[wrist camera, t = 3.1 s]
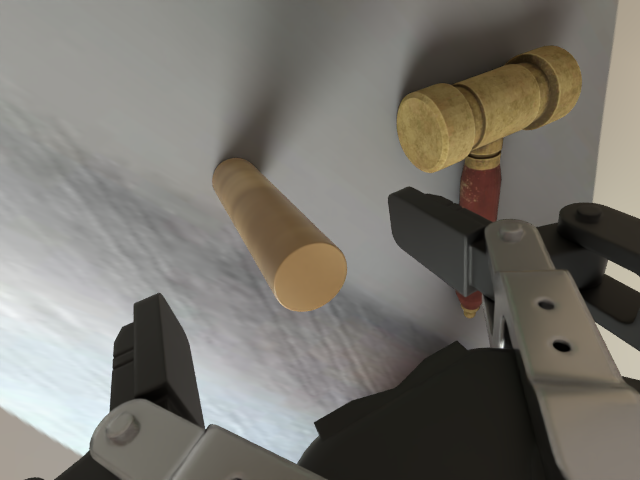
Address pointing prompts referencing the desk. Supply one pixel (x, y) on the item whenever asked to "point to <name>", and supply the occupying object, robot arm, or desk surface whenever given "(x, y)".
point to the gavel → (486, 124)
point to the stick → (280, 238)
